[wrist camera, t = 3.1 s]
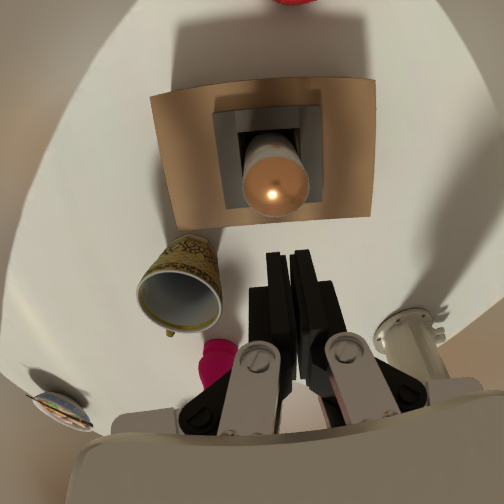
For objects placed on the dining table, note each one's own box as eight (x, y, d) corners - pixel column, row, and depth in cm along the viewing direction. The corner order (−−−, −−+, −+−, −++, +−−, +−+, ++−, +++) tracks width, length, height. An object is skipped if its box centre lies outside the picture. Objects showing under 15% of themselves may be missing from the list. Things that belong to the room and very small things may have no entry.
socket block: (351, 77, 27) (380, 80, 20) (351, 190, 34) (374, 222, 28) (170, 91, 28) (145, 98, 21) (190, 202, 36) (175, 237, 29)
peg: (293, 130, 24) (309, 153, 17) (295, 176, 26) (310, 215, 20) (243, 133, 24) (238, 158, 18) (248, 179, 27) (245, 219, 20)
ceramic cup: (165, 212, 36) (141, 258, 28) (238, 236, 38) (234, 287, 30) (150, 284, 43) (131, 333, 35) (211, 303, 45) (203, 354, 37)
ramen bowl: (44, 397, 78) (37, 414, 71) (30, 369, 66) (21, 389, 59) (102, 422, 83) (97, 440, 76) (97, 399, 71) (91, 422, 64)
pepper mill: (199, 336, 50) (183, 440, 33) (239, 337, 50) (235, 444, 33) (203, 359, 54) (191, 454, 37) (240, 360, 54) (237, 457, 37)
